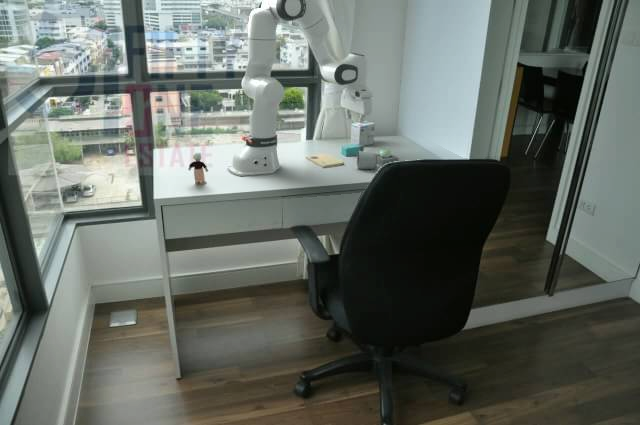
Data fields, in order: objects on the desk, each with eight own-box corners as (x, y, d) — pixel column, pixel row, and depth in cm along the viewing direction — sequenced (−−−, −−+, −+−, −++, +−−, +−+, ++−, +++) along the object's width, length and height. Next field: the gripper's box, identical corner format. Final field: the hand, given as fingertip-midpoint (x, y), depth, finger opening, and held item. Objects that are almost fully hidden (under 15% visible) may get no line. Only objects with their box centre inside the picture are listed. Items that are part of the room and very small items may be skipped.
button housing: (382, 166, 224) (383, 160, 223) (370, 160, 231) (371, 154, 230) (398, 163, 228) (398, 157, 227) (386, 158, 235) (386, 152, 234)
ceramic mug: (377, 171, 218) (378, 154, 215) (358, 171, 217) (359, 153, 214) (373, 163, 228) (374, 147, 225) (355, 163, 227) (356, 147, 224)
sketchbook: (322, 168, 220) (322, 165, 219) (305, 158, 231) (305, 156, 231) (343, 164, 225) (343, 162, 224) (326, 155, 237) (326, 153, 236)
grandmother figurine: (209, 181, 201) (207, 150, 196) (208, 184, 197) (207, 153, 192) (189, 181, 200) (187, 151, 194) (188, 185, 196) (186, 154, 191)
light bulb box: (364, 140, 261) (366, 120, 257) (374, 144, 257) (375, 123, 252) (349, 144, 255) (351, 123, 251) (358, 147, 250) (360, 126, 246)
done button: (383, 160, 226) (384, 152, 224) (377, 157, 229) (377, 150, 228) (392, 159, 228) (392, 151, 227) (385, 156, 232) (386, 148, 230)
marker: (345, 156, 236) (346, 148, 234) (341, 154, 239) (341, 146, 237) (363, 153, 241) (363, 145, 239) (358, 151, 244) (359, 143, 242)
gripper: (337, 87, 234) (336, 116, 240) (363, 95, 218) (361, 126, 224) (349, 86, 237) (347, 115, 243) (375, 93, 221) (373, 124, 227)
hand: (354, 120), depth 233 cm, fingers open, 8 cm apart
